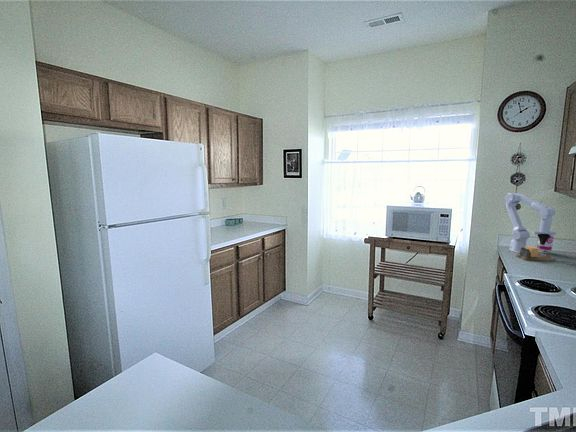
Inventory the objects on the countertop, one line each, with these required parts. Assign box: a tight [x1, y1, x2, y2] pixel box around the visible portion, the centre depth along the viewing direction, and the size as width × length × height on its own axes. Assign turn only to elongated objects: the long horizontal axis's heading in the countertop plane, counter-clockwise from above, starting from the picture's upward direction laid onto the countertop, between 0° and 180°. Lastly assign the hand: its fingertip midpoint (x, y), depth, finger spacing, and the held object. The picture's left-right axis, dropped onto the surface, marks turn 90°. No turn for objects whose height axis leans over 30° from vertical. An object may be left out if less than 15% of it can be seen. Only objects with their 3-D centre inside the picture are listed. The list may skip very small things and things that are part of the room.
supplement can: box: [536, 233, 555, 253], centre depth 226 cm, size 8×8×15 cm
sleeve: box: [525, 245, 539, 257], centre depth 211 cm, size 6×4×6 cm
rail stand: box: [515, 247, 556, 262], centre depth 211 cm, size 10×19×7 cm, turn 88°
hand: (542, 244), depth 213 cm, fingers closed
